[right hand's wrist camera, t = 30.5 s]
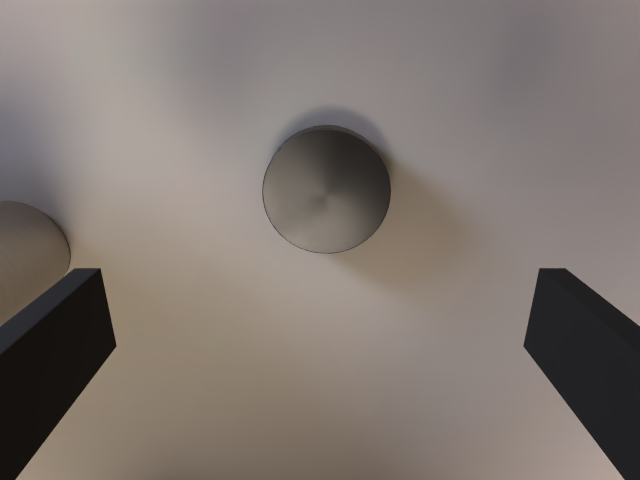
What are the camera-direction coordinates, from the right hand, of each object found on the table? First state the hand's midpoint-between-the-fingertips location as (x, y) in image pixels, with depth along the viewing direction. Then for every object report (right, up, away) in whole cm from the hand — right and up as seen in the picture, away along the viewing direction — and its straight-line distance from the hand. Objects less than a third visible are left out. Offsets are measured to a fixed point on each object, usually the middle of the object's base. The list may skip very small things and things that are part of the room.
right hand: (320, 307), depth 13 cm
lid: (0, +4, +8) cm, 9 cm away
